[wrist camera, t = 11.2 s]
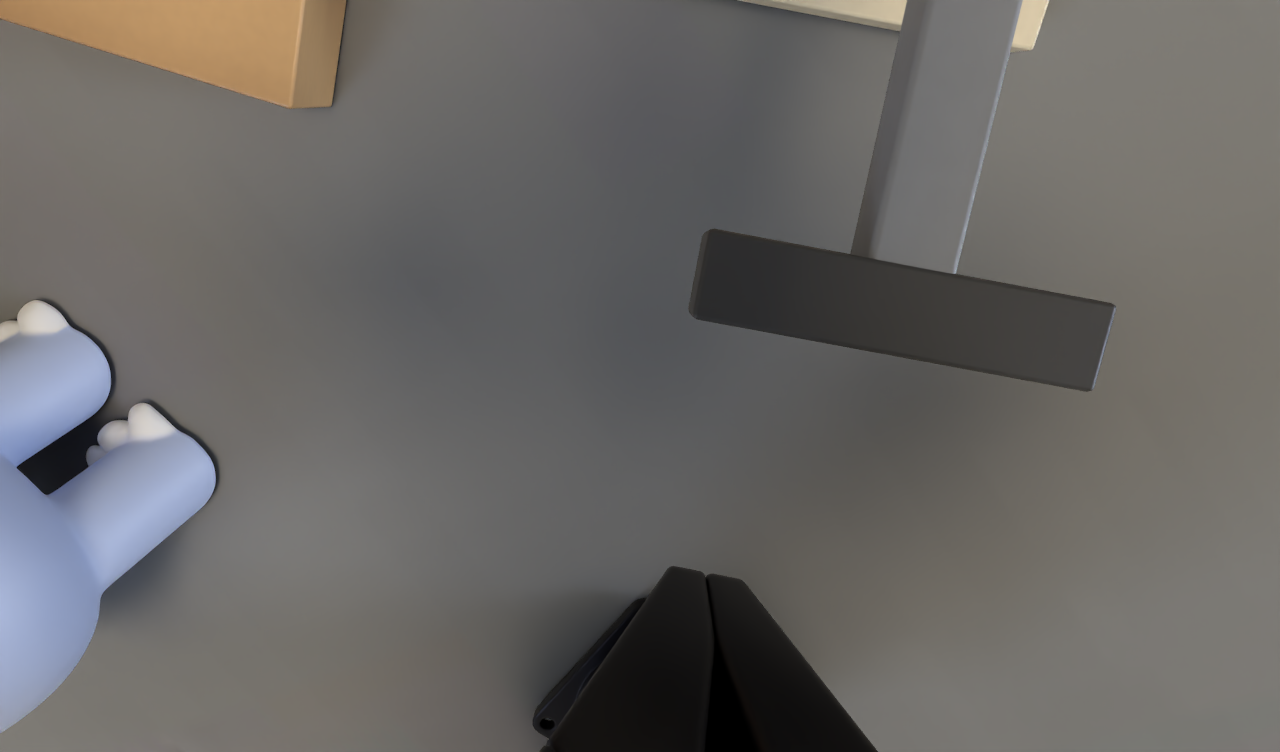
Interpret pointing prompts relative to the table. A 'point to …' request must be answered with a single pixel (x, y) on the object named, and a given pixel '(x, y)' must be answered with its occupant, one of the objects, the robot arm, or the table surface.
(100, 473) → the hippopotamus toy
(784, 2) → the lever bracket
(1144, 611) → the table surface
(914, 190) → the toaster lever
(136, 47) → the button block
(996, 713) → the table surface
